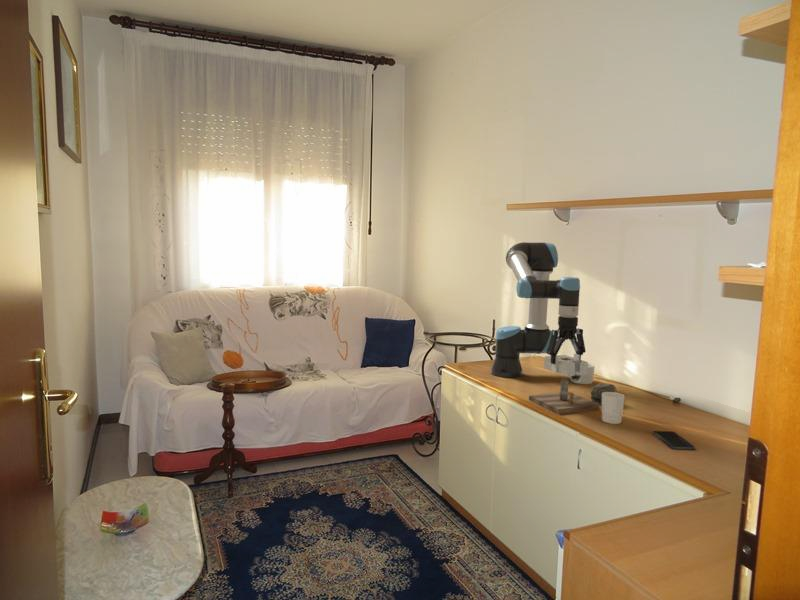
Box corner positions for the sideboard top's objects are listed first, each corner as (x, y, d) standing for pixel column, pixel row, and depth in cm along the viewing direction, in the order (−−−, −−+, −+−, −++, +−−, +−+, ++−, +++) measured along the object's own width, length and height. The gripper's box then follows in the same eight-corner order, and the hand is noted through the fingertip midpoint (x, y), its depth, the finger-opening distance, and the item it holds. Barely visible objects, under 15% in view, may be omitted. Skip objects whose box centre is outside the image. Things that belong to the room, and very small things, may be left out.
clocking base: (528, 400, 230) (529, 376, 228) (567, 395, 237) (569, 373, 236) (558, 414, 212) (559, 388, 211) (599, 409, 220) (600, 384, 219)
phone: (671, 447, 179) (651, 430, 194) (671, 450, 179) (651, 433, 194) (696, 447, 179) (674, 431, 194) (696, 451, 179) (674, 434, 194)
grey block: (544, 368, 227) (544, 356, 227) (563, 366, 231) (564, 355, 231) (566, 376, 214) (567, 363, 214) (587, 374, 218) (587, 362, 218)
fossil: (587, 402, 226) (590, 378, 229) (591, 407, 234) (593, 384, 237) (616, 406, 221) (618, 381, 224) (618, 411, 228) (620, 387, 232)
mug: (597, 382, 261) (599, 365, 260) (585, 385, 254) (586, 368, 253) (573, 376, 271) (574, 360, 270) (560, 379, 265) (561, 362, 264)
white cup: (596, 420, 206) (597, 394, 205) (607, 416, 211) (608, 390, 210) (615, 426, 200) (617, 399, 199) (626, 421, 205) (628, 395, 204)
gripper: (550, 318, 213) (547, 375, 215) (597, 316, 221) (594, 371, 224) (538, 315, 220) (536, 370, 222) (584, 314, 228) (581, 366, 230)
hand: (565, 370), depth 223 cm, fingers closed on grey block, 10 cm apart
